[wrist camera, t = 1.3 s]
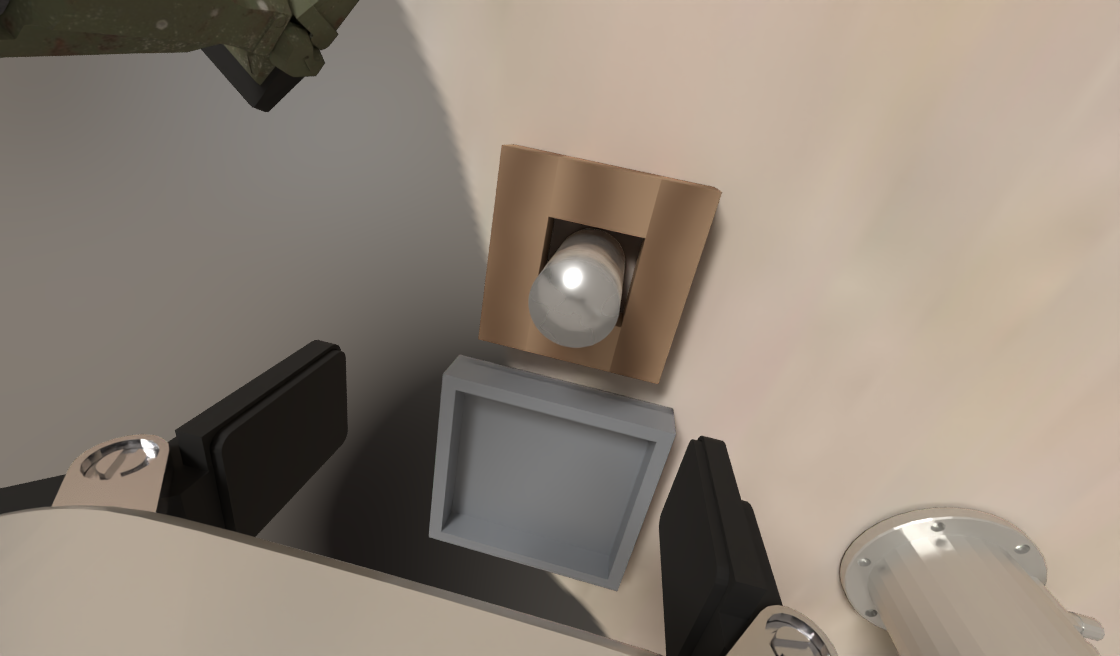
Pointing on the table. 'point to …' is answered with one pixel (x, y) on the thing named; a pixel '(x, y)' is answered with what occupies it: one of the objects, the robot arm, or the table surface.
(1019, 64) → the table surface
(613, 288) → the pin
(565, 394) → the tray
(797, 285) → the table surface
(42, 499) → the robot arm
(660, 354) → the pin block
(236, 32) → the mechanical leg
